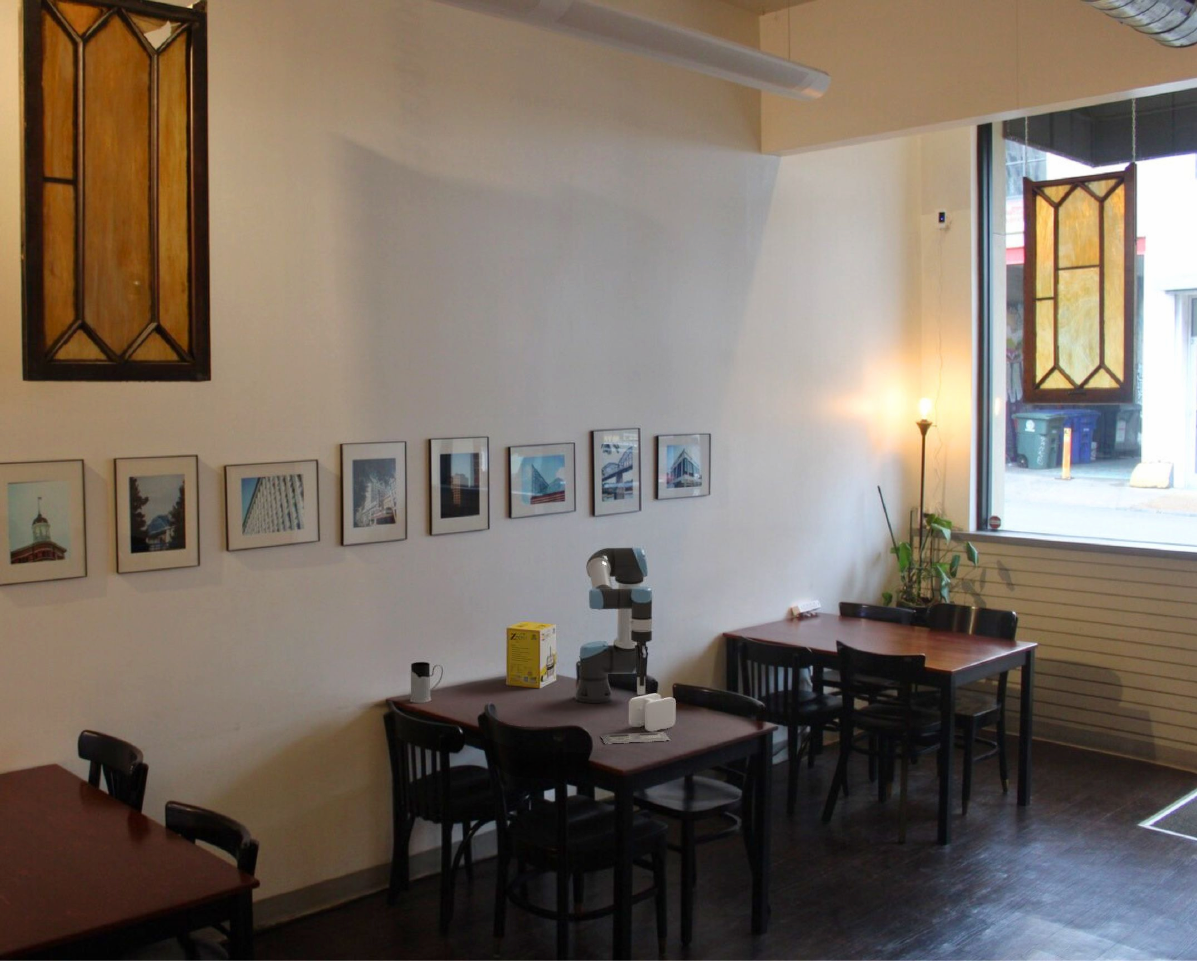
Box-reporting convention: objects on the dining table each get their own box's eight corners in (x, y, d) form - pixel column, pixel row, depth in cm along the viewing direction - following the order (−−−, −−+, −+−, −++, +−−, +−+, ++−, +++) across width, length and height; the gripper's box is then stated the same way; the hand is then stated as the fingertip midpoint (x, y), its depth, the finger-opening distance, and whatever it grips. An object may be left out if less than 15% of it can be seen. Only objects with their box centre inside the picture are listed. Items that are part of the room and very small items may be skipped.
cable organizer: (645, 734, 420) (646, 703, 419) (627, 728, 428) (627, 697, 427) (675, 727, 429) (676, 697, 428) (657, 721, 437) (657, 691, 436)
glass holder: (406, 699, 469) (406, 663, 468) (438, 694, 476) (438, 659, 475) (414, 703, 461) (414, 667, 460) (447, 699, 468) (446, 663, 467)
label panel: (600, 736, 416) (600, 733, 416) (663, 733, 421) (663, 730, 421) (605, 744, 407) (605, 741, 407) (670, 741, 411) (670, 738, 411)
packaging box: (523, 676, 508) (523, 621, 506) (556, 680, 502) (556, 624, 500) (506, 684, 493) (506, 627, 491) (539, 688, 487) (540, 630, 485)
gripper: (628, 626, 417) (627, 690, 419) (634, 633, 404) (634, 699, 406) (648, 626, 418) (647, 689, 420) (655, 633, 406) (654, 698, 407)
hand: (641, 694), depth 413 cm, fingers closed
